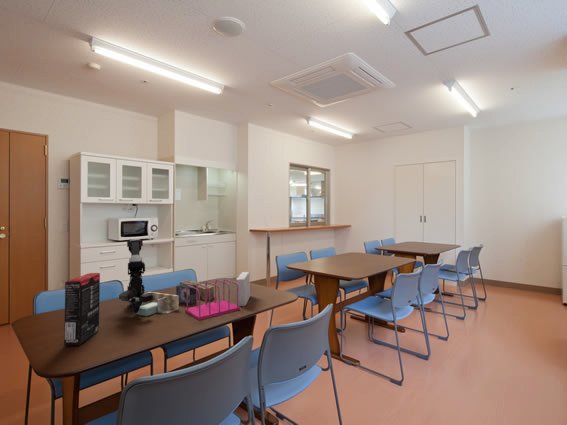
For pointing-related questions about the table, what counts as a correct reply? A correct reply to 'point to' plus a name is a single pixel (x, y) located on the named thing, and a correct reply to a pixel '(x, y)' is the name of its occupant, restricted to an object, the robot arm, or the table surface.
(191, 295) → the small box
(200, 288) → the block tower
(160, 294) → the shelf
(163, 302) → the bookend
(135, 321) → the table surface
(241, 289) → the skincare box
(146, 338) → the table surface
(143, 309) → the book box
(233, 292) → the table surface
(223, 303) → the file sorter
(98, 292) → the graphics card box
